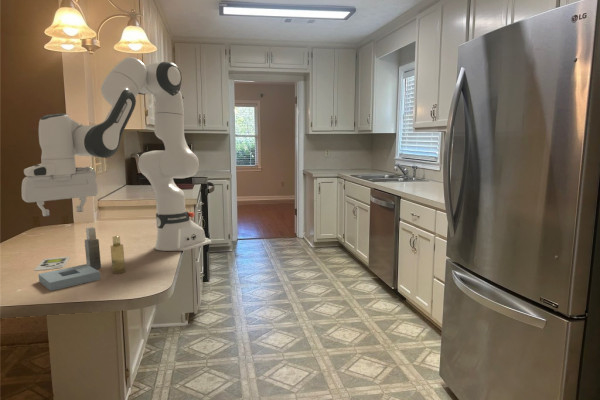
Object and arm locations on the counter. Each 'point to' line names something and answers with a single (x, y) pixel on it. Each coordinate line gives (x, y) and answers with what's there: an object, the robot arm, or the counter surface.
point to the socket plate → (68, 277)
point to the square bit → (92, 249)
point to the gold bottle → (117, 256)
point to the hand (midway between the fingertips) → (63, 213)
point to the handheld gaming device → (52, 263)
